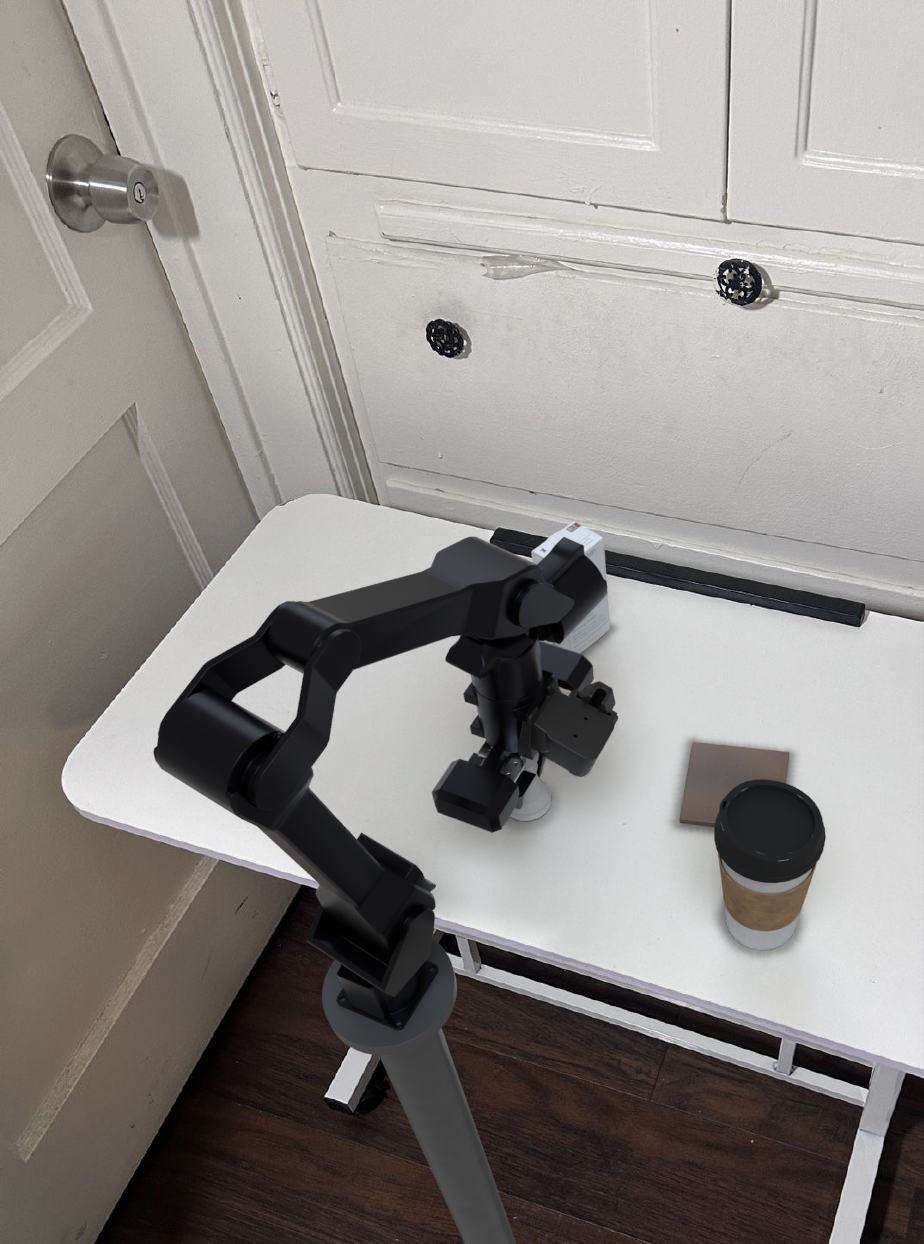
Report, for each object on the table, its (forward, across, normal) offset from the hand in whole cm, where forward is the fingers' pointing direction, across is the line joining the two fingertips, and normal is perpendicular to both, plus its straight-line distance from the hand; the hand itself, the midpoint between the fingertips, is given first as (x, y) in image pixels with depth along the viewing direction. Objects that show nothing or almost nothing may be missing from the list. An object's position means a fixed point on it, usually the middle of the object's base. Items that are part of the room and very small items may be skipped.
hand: (525, 791), depth 110 cm
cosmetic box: (+2, +21, +5) cm, 22 cm away
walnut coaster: (+2, +9, -17) cm, 19 cm away
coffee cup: (+2, -3, -24) cm, 24 cm away
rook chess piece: (+2, 0, 0) cm, 2 cm away
